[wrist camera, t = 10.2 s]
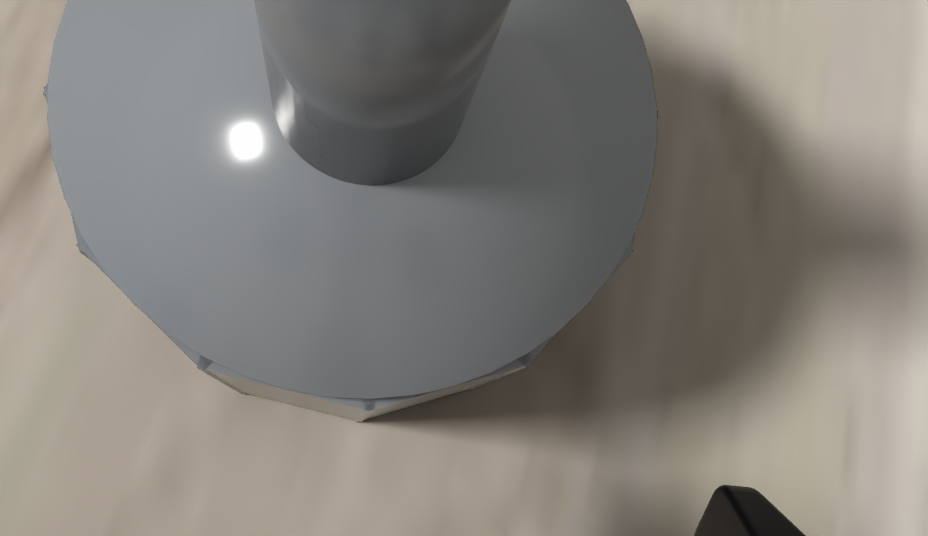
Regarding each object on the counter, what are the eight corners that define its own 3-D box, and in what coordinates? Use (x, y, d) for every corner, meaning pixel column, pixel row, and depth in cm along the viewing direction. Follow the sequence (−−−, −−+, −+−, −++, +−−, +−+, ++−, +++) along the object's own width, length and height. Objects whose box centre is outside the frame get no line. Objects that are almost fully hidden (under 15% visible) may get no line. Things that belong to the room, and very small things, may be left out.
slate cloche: (617, 346, 20) (1032, 202, 8) (191, 472, 17) (-87, 523, 6) (497, -27, 21) (696, -597, 10) (93, 47, 19) (-275, -567, 8)
